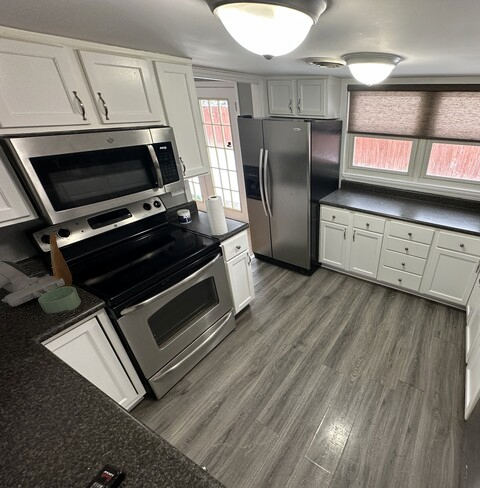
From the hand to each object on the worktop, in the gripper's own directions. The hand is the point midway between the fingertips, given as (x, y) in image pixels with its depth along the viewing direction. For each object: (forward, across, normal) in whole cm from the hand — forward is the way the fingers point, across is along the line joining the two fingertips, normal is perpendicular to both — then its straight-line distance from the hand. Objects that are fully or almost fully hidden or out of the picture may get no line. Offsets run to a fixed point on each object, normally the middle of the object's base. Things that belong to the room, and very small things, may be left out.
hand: (46, 294), depth 125 cm
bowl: (+9, 0, +6) cm, 11 cm away
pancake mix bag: (-11, +13, +6) cm, 18 cm away
